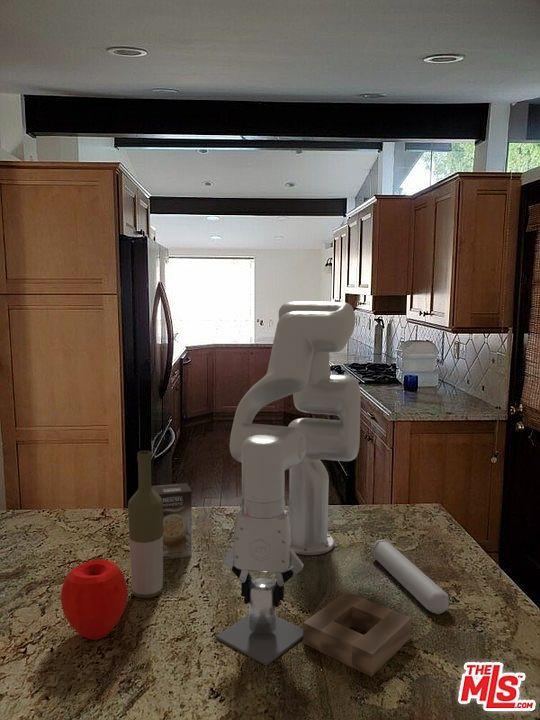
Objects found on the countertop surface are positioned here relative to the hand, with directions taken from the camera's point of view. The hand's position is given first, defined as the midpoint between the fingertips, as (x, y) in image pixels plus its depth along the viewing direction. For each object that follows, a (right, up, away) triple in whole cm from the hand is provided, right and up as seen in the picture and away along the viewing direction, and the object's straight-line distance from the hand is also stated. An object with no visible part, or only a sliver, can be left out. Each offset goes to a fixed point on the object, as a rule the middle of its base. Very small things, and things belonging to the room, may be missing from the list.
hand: (262, 600), depth 107 cm
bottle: (-24, -5, +16) cm, 29 cm away
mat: (0, -7, +1) cm, 7 cm away
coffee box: (-22, -3, +33) cm, 40 cm away
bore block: (+17, -7, 0) cm, 19 cm away
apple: (-31, -7, +2) cm, 31 cm away
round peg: (0, -5, +1) cm, 5 cm away
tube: (+31, -5, +19) cm, 37 cm away
